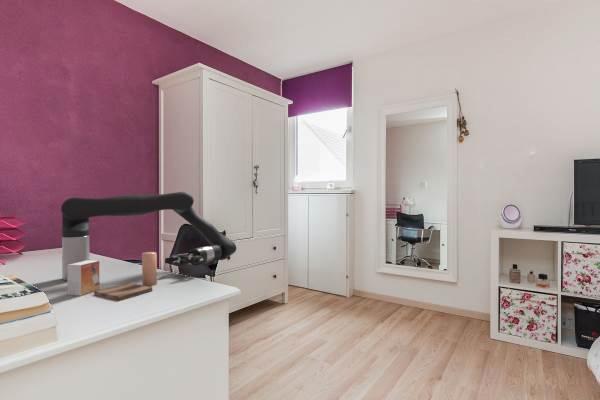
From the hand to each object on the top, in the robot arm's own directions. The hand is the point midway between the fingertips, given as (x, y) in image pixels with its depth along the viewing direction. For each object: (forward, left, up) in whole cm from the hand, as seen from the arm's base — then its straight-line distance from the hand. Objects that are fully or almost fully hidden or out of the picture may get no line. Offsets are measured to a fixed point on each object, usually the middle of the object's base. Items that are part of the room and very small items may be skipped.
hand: (172, 262), depth 132 cm
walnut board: (+1, -22, -7) cm, 23 cm away
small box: (-12, -28, -7) cm, 31 cm away
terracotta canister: (0, -11, -7) cm, 13 cm away
